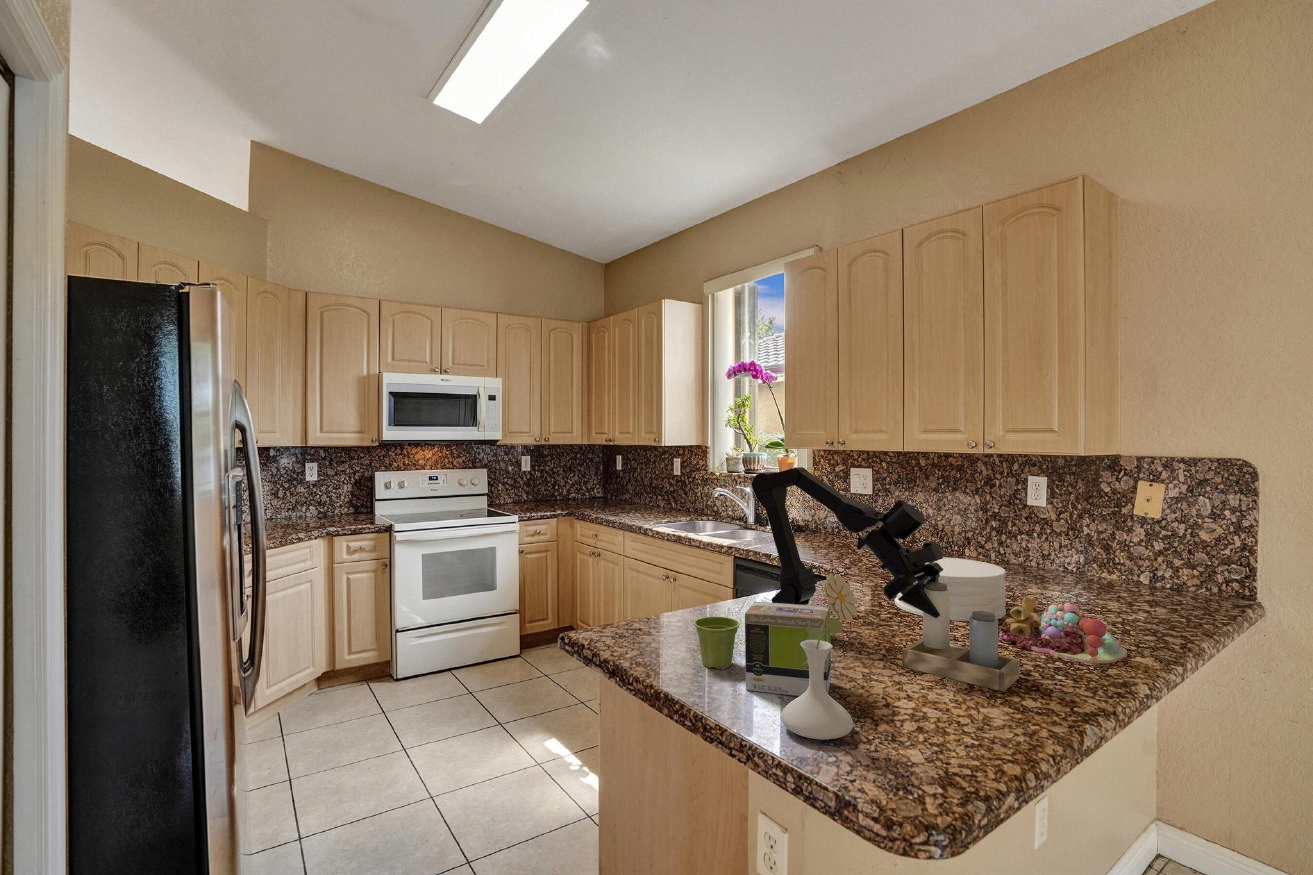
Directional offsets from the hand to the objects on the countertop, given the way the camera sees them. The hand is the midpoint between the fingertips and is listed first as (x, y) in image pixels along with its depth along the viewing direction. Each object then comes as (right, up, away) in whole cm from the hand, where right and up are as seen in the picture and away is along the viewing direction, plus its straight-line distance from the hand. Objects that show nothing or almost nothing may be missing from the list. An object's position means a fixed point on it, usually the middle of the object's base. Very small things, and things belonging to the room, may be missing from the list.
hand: (943, 614), depth 131 cm
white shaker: (-1, -7, +1) cm, 7 cm away
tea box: (-34, -11, -10) cm, 37 cm away
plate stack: (+23, -11, +47) cm, 54 cm away
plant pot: (-46, -11, +2) cm, 47 cm away
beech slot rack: (+2, -11, -2) cm, 11 cm away
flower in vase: (-32, -11, -28) cm, 44 cm away
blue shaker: (+6, -11, -5) cm, 13 cm away
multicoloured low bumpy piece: (+34, -11, +16) cm, 39 cm away
